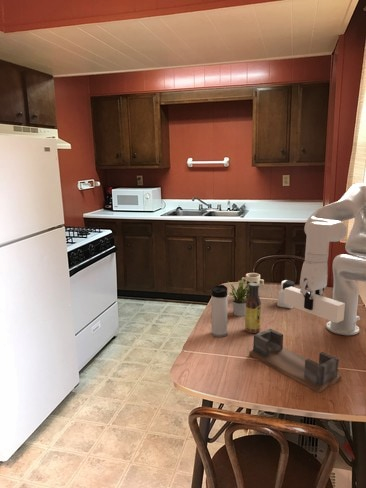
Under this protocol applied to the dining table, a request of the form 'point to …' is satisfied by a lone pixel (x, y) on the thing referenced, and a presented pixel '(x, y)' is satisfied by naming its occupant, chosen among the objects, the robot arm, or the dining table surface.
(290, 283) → the medicine bottle
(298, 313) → the dining table surface
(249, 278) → the character mug
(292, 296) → the slat
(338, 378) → the end cap frame
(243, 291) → the house plant
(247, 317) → the sauce bottle
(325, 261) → the robot arm
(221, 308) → the travel mug
